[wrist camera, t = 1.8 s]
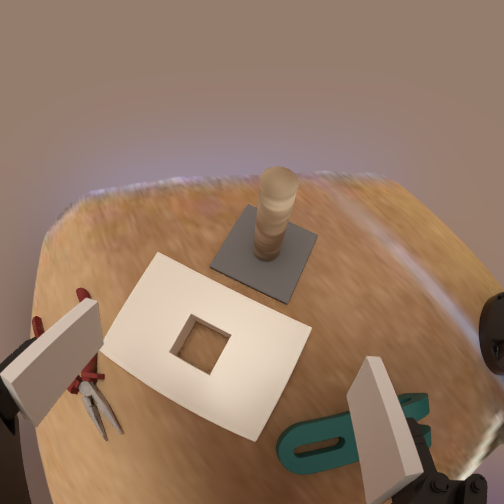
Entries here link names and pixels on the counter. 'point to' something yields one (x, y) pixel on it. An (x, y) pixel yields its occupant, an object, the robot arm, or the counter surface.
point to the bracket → (333, 428)
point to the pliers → (86, 380)
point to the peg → (273, 211)
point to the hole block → (231, 360)
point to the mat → (259, 272)
